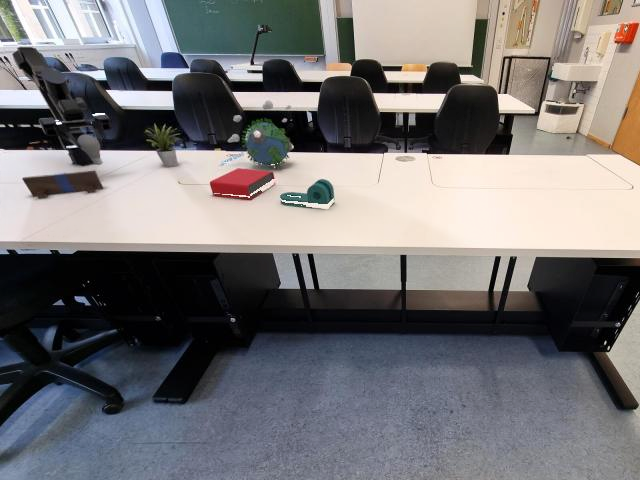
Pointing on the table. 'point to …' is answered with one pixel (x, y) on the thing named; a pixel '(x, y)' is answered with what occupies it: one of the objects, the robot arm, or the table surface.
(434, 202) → the table surface
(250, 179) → the red book
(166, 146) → the house plant
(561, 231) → the table surface
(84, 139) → the light bulb
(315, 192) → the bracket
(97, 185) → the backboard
